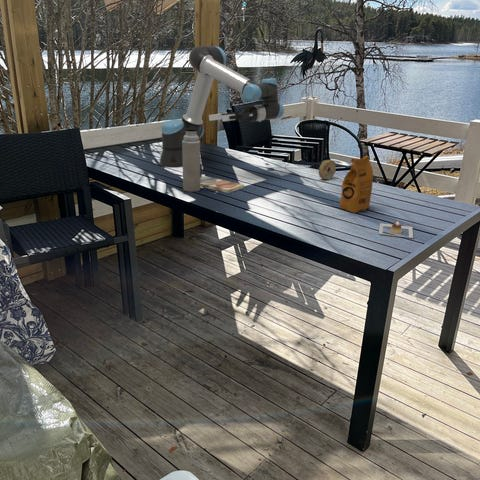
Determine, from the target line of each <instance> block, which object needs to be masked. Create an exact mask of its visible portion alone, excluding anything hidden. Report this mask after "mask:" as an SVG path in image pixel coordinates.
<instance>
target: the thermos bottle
mask: <svg viewBox="0 0 480 480" xmlns="http://www.w3.org/2000/svg"><path fill="white" fill-rule="evenodd" d="M196 131H197V129H196V128H186V135H185V136H184V138H183V139H184V140H183V141H182V154H183V166H182V190H184V192H185V191H186V192H191V193H192V192H198V191H200V190H201V187H200V177H201V141H200V139H199V137H198V135H197V132H196Z"/></svg>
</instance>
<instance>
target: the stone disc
mask: <svg viewBox="0 0 480 480" xmlns="http://www.w3.org/2000/svg"><path fill="white" fill-rule="evenodd" d="M336 169H337V168H336V162H335V161H334V160H332V159H325V160H323V161H322V162H321V164H320V165H319V168H318V177H319V178H320V179H323V180H325V179H328V180H330V179H329V178H331V179H332V178H333V177H334V175H335V174H336Z"/></svg>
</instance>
